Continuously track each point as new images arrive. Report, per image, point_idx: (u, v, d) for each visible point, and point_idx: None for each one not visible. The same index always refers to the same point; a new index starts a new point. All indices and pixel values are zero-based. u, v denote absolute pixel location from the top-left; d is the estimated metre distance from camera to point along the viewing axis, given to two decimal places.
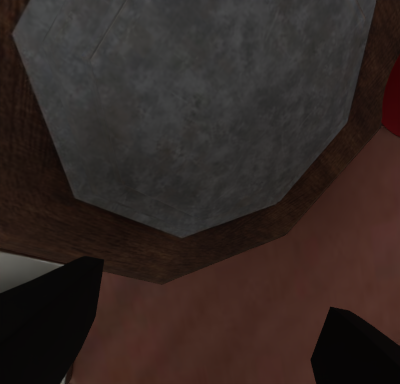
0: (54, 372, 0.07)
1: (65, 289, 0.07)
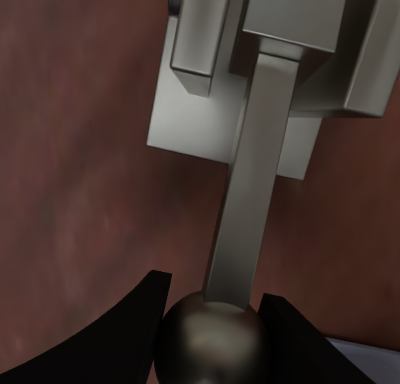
0: None
1: (158, 308, 0.07)
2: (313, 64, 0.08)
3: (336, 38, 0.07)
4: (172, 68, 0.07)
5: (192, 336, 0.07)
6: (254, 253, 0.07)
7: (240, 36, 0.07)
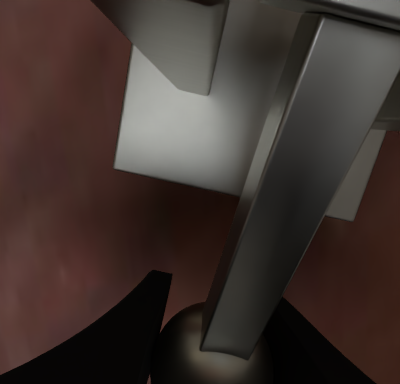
0: None
1: (159, 308, 0.07)
2: None
3: None
4: None
5: None
6: (264, 318, 0.06)
7: None
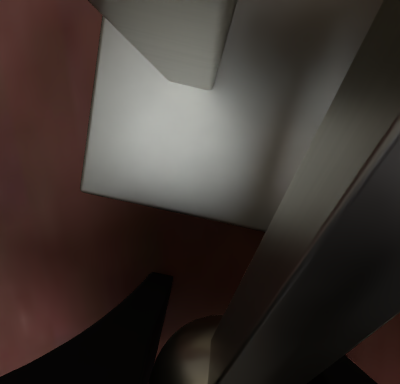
0: None
1: (160, 308, 0.07)
2: None
3: None
4: None
5: None
6: (298, 382, 0.04)
7: None
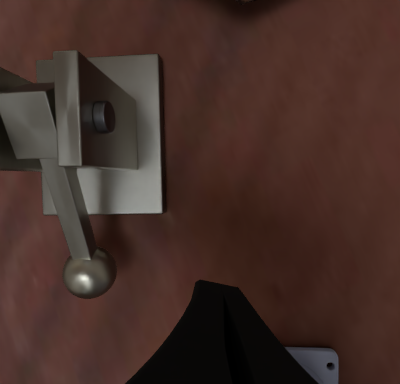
0: None
1: (223, 321, 0.07)
2: None
3: None
4: None
5: (67, 275, 0.17)
6: (83, 239, 0.16)
7: None
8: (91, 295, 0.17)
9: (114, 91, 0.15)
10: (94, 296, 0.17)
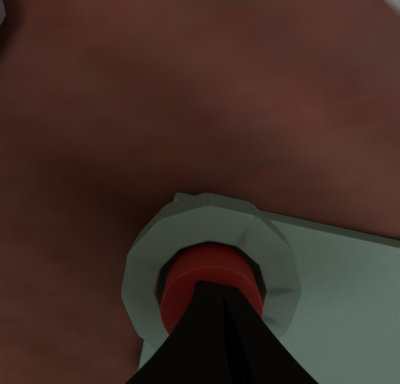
0: None
1: (222, 321, 0.07)
2: None
3: None
4: None
5: None
6: None
7: None
8: None
9: None
10: None
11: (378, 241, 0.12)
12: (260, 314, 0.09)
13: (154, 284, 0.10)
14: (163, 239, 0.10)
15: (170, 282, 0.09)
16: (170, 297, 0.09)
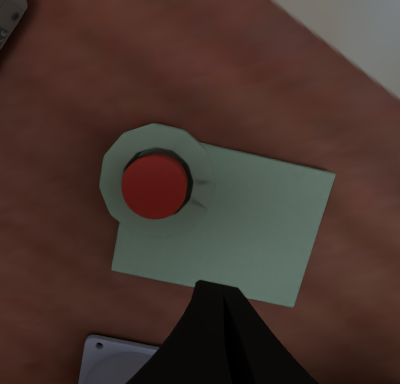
0: None
1: (223, 321, 0.07)
2: None
3: None
4: None
5: None
6: None
7: None
8: None
9: None
10: None
11: (275, 160, 0.18)
12: (184, 189, 0.15)
13: (120, 178, 0.16)
14: (126, 146, 0.16)
15: (127, 168, 0.15)
16: (127, 177, 0.15)
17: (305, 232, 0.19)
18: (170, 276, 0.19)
